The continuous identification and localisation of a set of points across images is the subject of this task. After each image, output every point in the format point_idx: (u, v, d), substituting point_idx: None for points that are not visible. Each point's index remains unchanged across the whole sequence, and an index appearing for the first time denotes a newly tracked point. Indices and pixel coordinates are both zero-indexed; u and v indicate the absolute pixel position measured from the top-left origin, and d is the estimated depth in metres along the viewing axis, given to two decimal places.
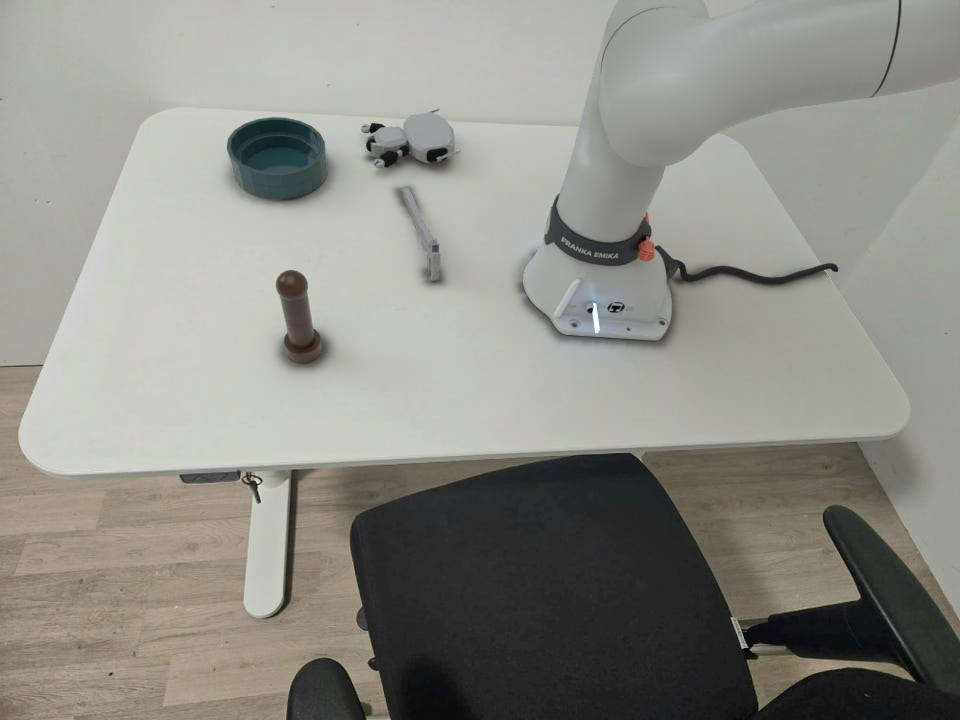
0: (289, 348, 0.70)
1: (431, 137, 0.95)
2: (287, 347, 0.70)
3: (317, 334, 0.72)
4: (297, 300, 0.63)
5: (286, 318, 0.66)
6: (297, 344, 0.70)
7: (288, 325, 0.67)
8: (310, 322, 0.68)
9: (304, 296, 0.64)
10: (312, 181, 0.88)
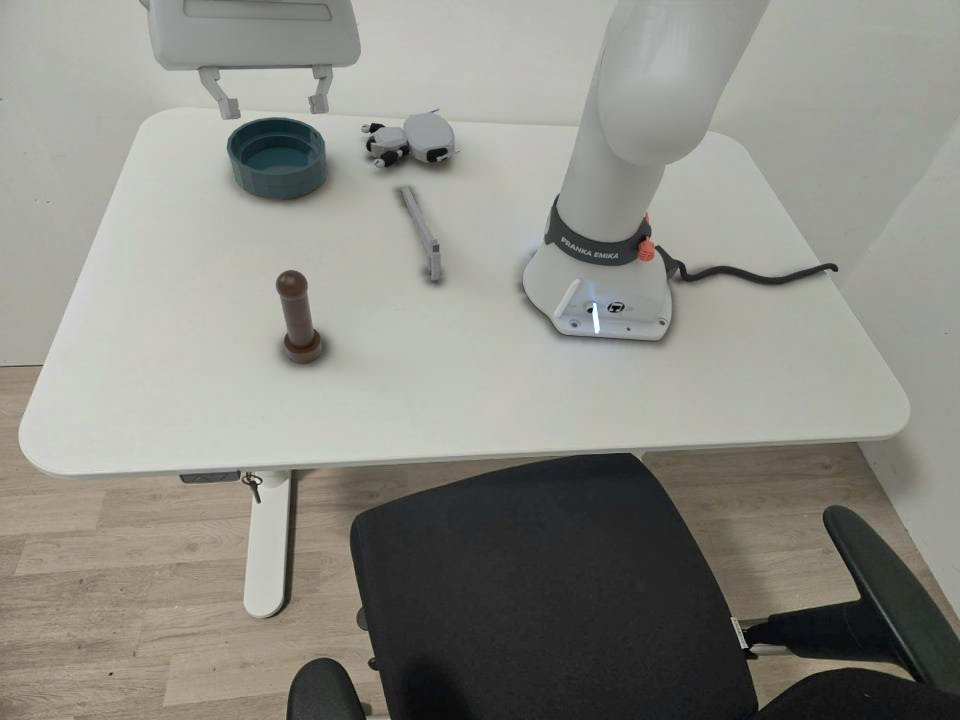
0: (289, 348, 0.70)
1: (431, 137, 0.95)
2: (287, 347, 0.70)
3: (317, 334, 0.72)
4: (297, 300, 0.63)
5: (286, 318, 0.66)
6: (297, 344, 0.70)
7: (288, 325, 0.67)
8: (310, 322, 0.68)
9: (304, 296, 0.64)
10: (312, 181, 0.88)
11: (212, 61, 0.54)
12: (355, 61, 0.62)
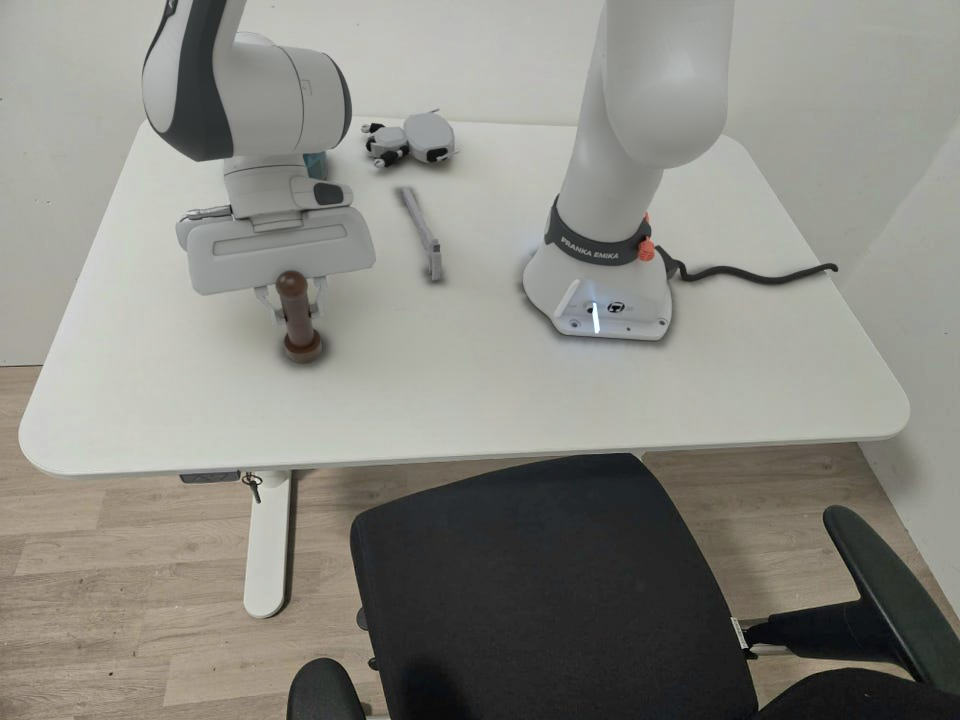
0: (289, 348, 0.70)
1: (431, 137, 0.95)
2: (287, 347, 0.70)
3: (317, 334, 0.72)
4: (296, 300, 0.63)
5: (286, 318, 0.66)
6: (297, 344, 0.70)
7: (288, 325, 0.67)
8: (310, 322, 0.68)
9: (304, 296, 0.64)
10: None
11: (236, 287, 0.63)
12: (370, 267, 0.67)
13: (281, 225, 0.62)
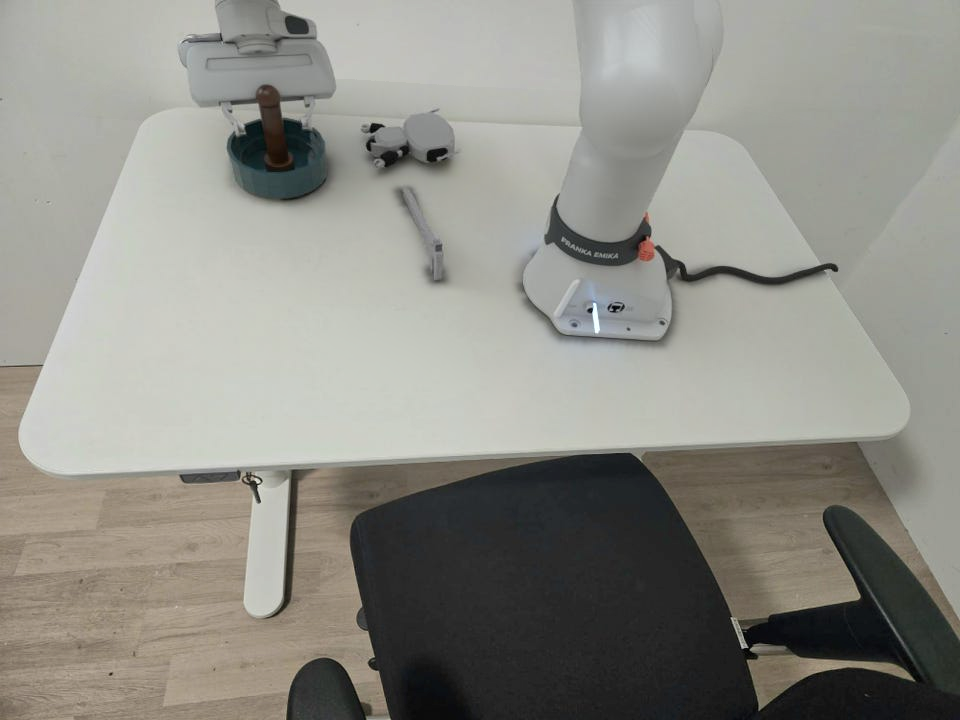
0: (268, 162, 0.88)
1: (431, 137, 0.95)
2: (266, 162, 0.88)
3: (290, 155, 0.90)
4: (272, 108, 0.81)
5: (264, 129, 0.84)
6: (274, 158, 0.88)
7: (266, 137, 0.85)
8: (284, 137, 0.86)
9: (278, 107, 0.82)
10: (312, 181, 0.88)
11: (225, 97, 0.81)
12: (331, 92, 0.85)
13: (259, 47, 0.80)
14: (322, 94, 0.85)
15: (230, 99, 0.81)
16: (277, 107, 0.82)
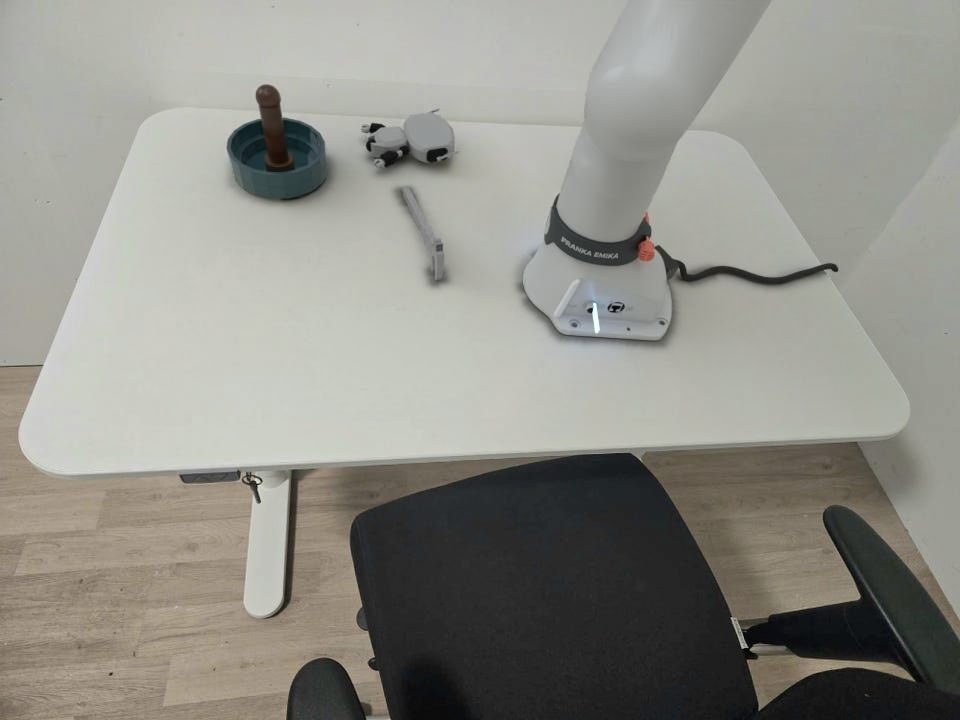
0: (268, 162, 0.88)
1: (431, 137, 0.95)
2: (266, 162, 0.88)
3: (290, 155, 0.90)
4: (272, 108, 0.81)
5: (264, 129, 0.84)
6: (274, 158, 0.88)
7: (266, 137, 0.85)
8: (284, 137, 0.86)
9: (278, 107, 0.82)
10: (312, 181, 0.88)
11: None
12: None
13: None
14: None
15: None
16: (277, 107, 0.82)
